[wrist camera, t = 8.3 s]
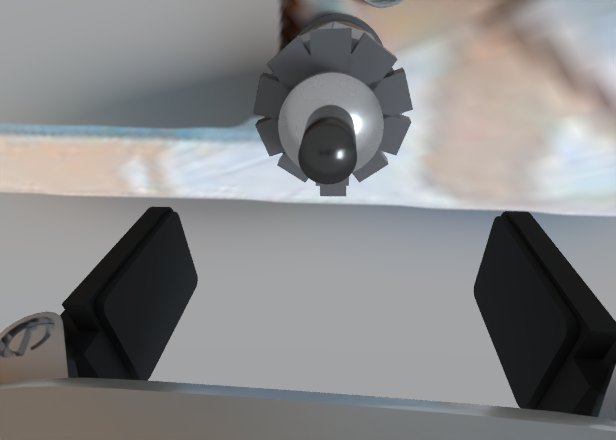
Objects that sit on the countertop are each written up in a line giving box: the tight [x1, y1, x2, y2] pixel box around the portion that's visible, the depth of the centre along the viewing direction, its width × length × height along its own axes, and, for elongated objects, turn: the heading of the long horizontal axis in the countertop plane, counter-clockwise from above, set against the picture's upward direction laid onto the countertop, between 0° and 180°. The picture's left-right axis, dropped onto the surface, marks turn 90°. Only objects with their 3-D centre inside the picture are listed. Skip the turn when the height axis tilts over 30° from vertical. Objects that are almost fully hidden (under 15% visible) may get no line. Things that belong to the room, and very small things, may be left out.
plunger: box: [278, 71, 384, 185], centre depth 22 cm, size 6×6×13 cm
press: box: [254, 14, 413, 196], centre depth 28 cm, size 10×12×15 cm
